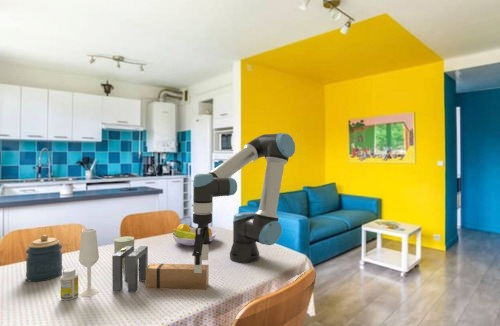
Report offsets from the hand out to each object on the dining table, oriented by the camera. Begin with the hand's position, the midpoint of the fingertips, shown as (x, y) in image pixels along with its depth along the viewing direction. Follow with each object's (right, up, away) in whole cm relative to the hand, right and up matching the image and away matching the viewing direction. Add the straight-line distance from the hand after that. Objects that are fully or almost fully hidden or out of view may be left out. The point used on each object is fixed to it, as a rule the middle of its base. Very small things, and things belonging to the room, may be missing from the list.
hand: (201, 266), depth 116 cm
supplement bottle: (-47, -9, -9) cm, 49 cm away
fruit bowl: (-15, -7, +58) cm, 60 cm away
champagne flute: (-42, -9, -5) cm, 43 cm away
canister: (-69, -8, +10) cm, 71 cm away
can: (-42, -8, +26) cm, 50 cm away
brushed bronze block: (-10, -8, +1) cm, 13 cm away
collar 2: (-26, -8, +1) cm, 27 cm away
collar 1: (-32, -8, +2) cm, 33 cm away
